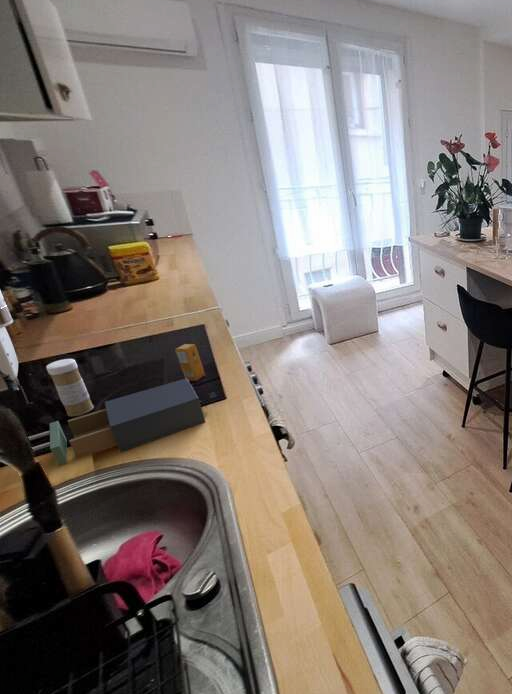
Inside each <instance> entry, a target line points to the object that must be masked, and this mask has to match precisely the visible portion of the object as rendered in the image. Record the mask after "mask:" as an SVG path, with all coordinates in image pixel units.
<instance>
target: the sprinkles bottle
mask: <svg viewBox="0 0 512 694" xmlns="http://www.w3.org/2000/svg"><path fill="white" fill-rule="evenodd" d="M45 368H46V371H47V374H48V375H49V376H50V377H51V380H52V382H53V385H54V387H55V389H56V391H57V395H58V397H59V399H60V401H61V403H62V405H63V407H64V409H65V411H66V415H67V416H68V417H72V418H75V417H80V416H84V415H87V414H89V413H90V412H92V411H93V410H94V408H95V406H94V404H93V403H92V400H91V398H90V394H89V392H88V390H87V389H88V388H87V387H86V384H85V382H84V379H83V378H82V376H81V374H80V372H79V367H78V364H77V362H76V360H75V359H74V358H64V359H59V360H55V361H53V362H50V363H48V364H47V365H46V366H45Z"/></svg>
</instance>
